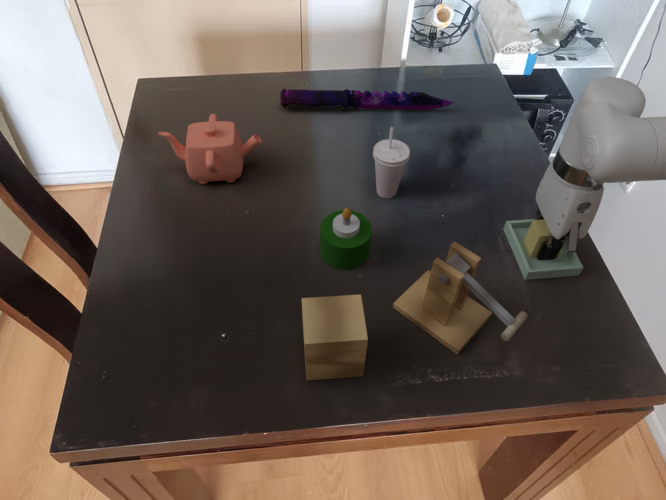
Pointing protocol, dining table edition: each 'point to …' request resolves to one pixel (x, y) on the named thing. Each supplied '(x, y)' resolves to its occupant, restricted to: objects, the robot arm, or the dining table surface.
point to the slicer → (445, 302)
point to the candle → (345, 239)
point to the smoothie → (389, 165)
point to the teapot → (213, 150)
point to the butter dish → (532, 266)
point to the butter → (536, 237)
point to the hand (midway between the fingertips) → (541, 247)
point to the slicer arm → (488, 299)
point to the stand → (334, 337)
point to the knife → (362, 99)
